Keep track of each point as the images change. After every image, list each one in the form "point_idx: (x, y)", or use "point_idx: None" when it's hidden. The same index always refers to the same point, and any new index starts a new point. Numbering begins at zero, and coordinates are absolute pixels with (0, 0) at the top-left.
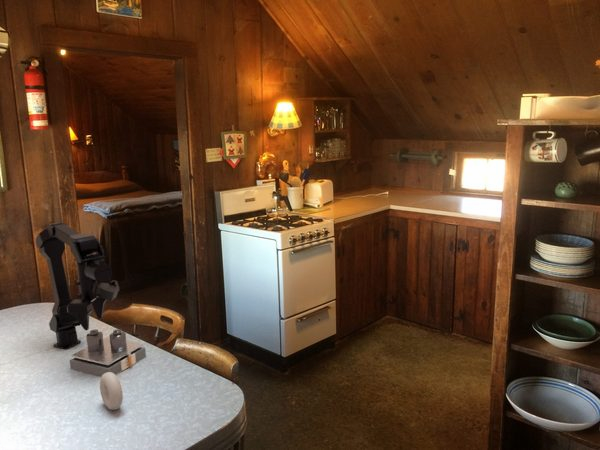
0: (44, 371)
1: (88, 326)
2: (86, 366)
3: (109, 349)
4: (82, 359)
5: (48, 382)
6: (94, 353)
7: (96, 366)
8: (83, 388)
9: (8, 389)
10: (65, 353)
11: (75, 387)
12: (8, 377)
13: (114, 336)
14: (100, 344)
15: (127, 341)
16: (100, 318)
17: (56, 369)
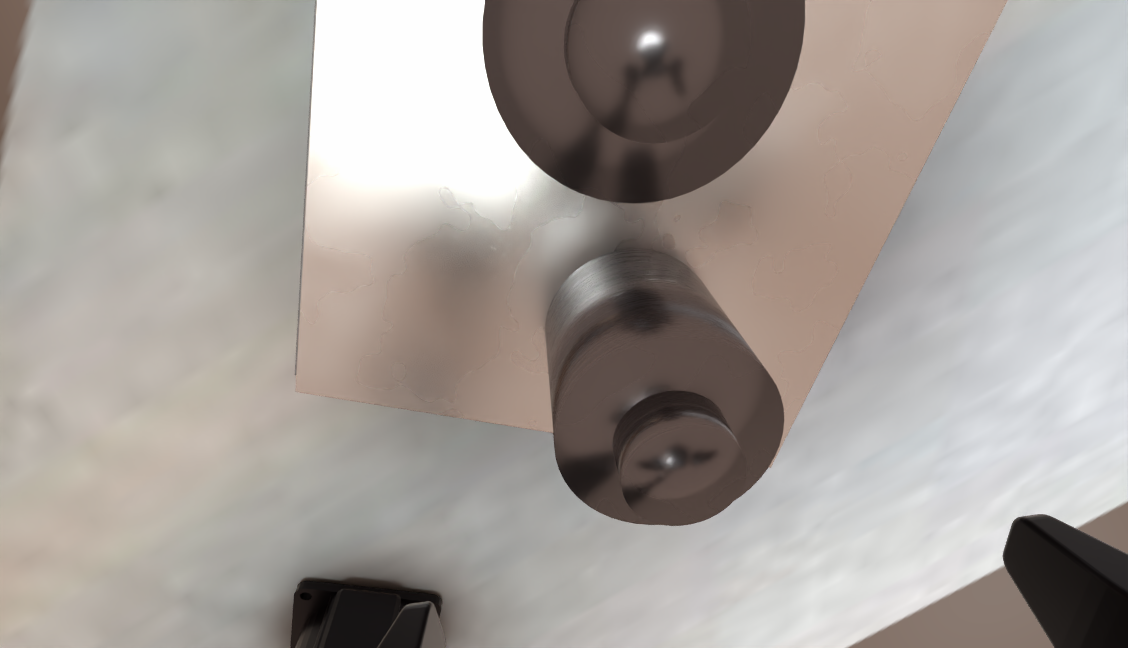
0: (767, 531)
1: (1105, 563)
2: None
3: None
4: None
5: (929, 423)
6: (733, 286)
7: None
8: (1085, 110)
9: (983, 565)
10: (497, 567)
11: (1050, 191)
12: (836, 642)
13: (757, 48)
14: (681, 284)
15: (337, 56)
16: (434, 613)
17: None
